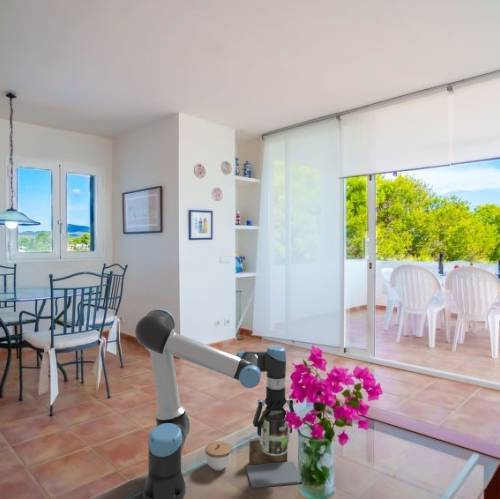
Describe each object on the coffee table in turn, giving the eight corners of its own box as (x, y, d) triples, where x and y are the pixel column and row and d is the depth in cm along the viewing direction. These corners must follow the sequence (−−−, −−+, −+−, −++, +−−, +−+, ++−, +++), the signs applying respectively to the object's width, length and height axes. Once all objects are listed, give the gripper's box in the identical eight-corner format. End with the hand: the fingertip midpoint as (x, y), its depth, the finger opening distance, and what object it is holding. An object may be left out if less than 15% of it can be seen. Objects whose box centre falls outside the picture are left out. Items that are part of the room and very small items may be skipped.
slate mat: (251, 487, 150) (251, 485, 150) (245, 467, 162) (245, 465, 162) (302, 482, 153) (302, 480, 153) (292, 463, 166) (292, 461, 166)
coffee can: (292, 447, 159) (293, 412, 158) (279, 459, 150) (280, 422, 150) (269, 439, 164) (270, 405, 164) (256, 450, 156) (257, 415, 155)
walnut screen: (249, 464, 164) (250, 440, 164) (249, 462, 166) (249, 438, 165) (287, 461, 167) (287, 438, 167) (286, 459, 169) (286, 436, 168)
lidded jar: (219, 477, 155) (219, 454, 155) (199, 467, 162) (199, 444, 161) (236, 465, 164) (237, 442, 163) (217, 455, 170) (217, 434, 170)
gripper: (249, 392, 150) (248, 449, 151) (306, 388, 154) (305, 444, 156) (245, 384, 158) (244, 439, 159) (300, 381, 162) (299, 434, 163)
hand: (274, 441), depth 157 cm, fingers closed on coffee can, 10 cm apart
